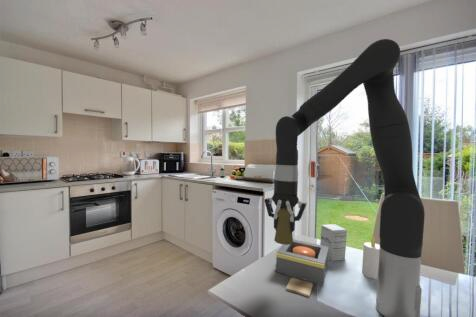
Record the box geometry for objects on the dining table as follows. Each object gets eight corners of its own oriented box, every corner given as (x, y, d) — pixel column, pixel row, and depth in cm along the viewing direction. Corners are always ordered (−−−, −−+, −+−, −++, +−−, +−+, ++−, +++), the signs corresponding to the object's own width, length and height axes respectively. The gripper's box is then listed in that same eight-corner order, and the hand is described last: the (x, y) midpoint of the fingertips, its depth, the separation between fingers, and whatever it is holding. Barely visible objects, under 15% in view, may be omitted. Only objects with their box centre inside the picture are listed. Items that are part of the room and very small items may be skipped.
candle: (386, 276, 82) (388, 235, 81) (375, 280, 79) (377, 237, 78) (369, 268, 87) (371, 229, 87) (358, 271, 84) (360, 231, 84)
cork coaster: (312, 285, 74) (312, 283, 74) (309, 297, 68) (309, 295, 68) (291, 279, 77) (291, 277, 77) (286, 289, 71) (286, 287, 71)
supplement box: (319, 253, 99) (320, 224, 98) (333, 252, 101) (334, 223, 101) (330, 261, 92) (332, 230, 91) (345, 259, 94) (347, 229, 94)
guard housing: (327, 264, 89) (328, 246, 89) (323, 285, 74) (324, 264, 74) (286, 254, 96) (287, 238, 96) (275, 272, 81) (276, 252, 81)
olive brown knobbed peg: (293, 245, 71) (295, 210, 71) (274, 243, 72) (275, 208, 72) (292, 238, 77) (294, 206, 77) (274, 236, 78) (275, 204, 78)
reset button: (316, 257, 87) (316, 249, 87) (312, 266, 80) (313, 257, 80) (294, 252, 90) (295, 244, 90) (290, 260, 83) (290, 252, 83)
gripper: (310, 179, 75) (307, 231, 75) (268, 176, 81) (266, 224, 81) (306, 181, 68) (304, 239, 68) (261, 178, 74) (259, 230, 74)
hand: (283, 231), depth 75 cm, fingers closed on olive brown knobbed peg, 4 cm apart
